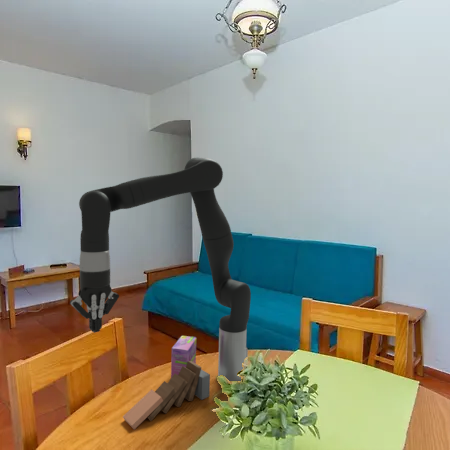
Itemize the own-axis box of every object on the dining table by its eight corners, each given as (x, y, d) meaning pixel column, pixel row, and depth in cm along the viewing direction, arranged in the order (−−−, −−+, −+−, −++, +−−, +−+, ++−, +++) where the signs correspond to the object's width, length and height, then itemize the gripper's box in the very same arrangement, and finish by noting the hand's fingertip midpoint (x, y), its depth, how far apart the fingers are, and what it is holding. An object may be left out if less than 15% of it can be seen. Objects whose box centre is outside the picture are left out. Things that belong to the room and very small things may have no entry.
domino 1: (141, 412, 101) (166, 384, 106) (151, 421, 97) (176, 391, 102) (138, 409, 100) (164, 380, 105) (148, 417, 96) (174, 388, 102)
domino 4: (182, 393, 111) (191, 361, 112) (192, 400, 107) (201, 367, 108) (178, 393, 110) (187, 361, 111) (188, 401, 106) (197, 367, 107)
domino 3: (170, 399, 107) (185, 367, 110) (179, 407, 104) (196, 373, 107) (166, 398, 106) (182, 366, 110) (176, 406, 103) (192, 372, 106)
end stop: (193, 385, 115) (193, 364, 115) (209, 396, 110) (209, 374, 109) (185, 388, 113) (186, 367, 113) (201, 399, 108) (202, 377, 107)
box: (187, 384, 116) (187, 349, 115) (170, 382, 117) (171, 347, 116) (196, 369, 126) (196, 337, 125) (180, 367, 127) (181, 335, 126)
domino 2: (156, 405, 104) (177, 375, 109) (165, 414, 100) (187, 382, 105) (153, 403, 103) (174, 373, 108) (162, 411, 100) (184, 379, 104)
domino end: (125, 420, 97) (153, 393, 103) (134, 429, 94) (163, 400, 99) (122, 416, 97) (151, 389, 102) (131, 425, 93) (161, 396, 99)
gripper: (74, 273, 86) (75, 342, 88) (125, 266, 95) (125, 329, 97) (63, 268, 91) (64, 333, 93) (112, 261, 100) (112, 321, 102)
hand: (95, 331), depth 95 cm, fingers closed
